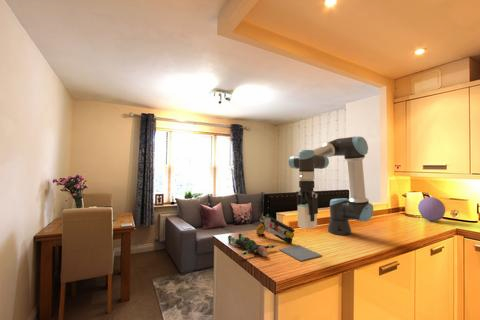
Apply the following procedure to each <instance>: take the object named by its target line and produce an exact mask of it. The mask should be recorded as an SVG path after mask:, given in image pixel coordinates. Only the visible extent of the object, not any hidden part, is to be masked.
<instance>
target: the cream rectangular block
mask: <svg viewBox="0 0 480 320" xmlns="http://www.w3.org/2000/svg"><path fill="white" fill-rule="evenodd" d="M309 214H310V213H309V206H308V203H306V204H303V205H298V210H297V227H299V228H300V229H303V230H307V229H310V228H309V220H308V215H309ZM314 228H318V214H315V215H314Z"/></svg>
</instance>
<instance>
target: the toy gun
mask: <svg viewBox="0 0 480 320" xmlns="http://www.w3.org/2000/svg"><path fill="white" fill-rule="evenodd" d="M259 221H260V223H259V224H258V226H257V227H256V232H255V233H256V235H258V236H259V237H261V238H262V237H265V236H266V235H265V232H266V233H268V234H271V235H272V236H274V237H276V238H278V239H280V240H282V241H284V242H285V243H287V244H288V245H290V244H292V242H293V238H294V237H295V229H294V228H293V227H292V226H289V225H287V224H285V223H283V222H281V221H279V220H277V219H275V218H274V217H272V215H270V214H266V215H265V216H264V215H263V216H262V217H259Z"/></svg>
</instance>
